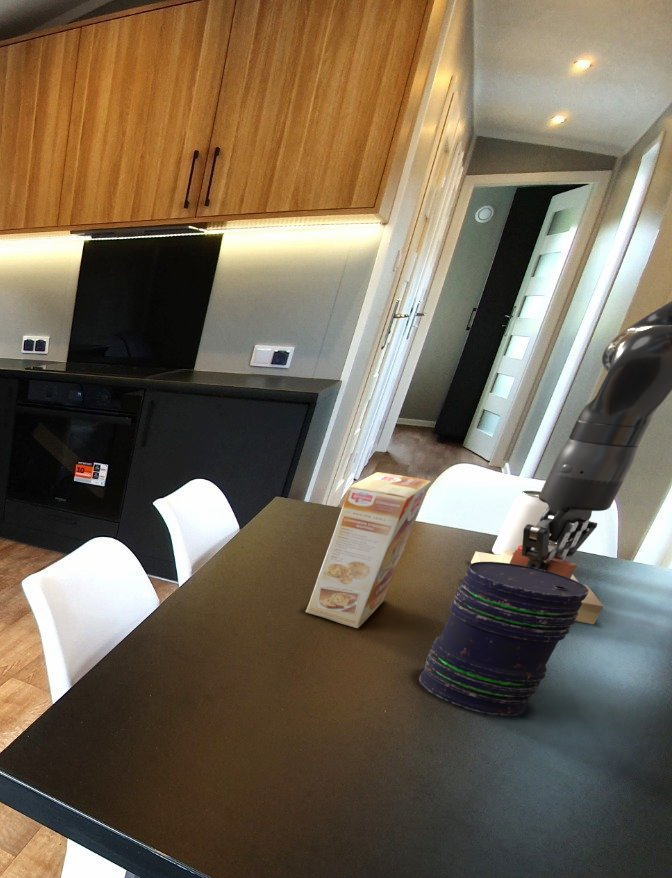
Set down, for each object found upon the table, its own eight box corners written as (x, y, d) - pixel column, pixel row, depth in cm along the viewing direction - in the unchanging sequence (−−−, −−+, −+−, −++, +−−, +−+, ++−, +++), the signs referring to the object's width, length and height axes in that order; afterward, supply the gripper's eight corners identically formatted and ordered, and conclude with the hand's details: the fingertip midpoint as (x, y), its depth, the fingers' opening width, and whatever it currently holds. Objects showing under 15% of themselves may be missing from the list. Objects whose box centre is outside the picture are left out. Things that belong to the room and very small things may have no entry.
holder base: (577, 600, 101) (586, 582, 100) (594, 626, 93) (605, 606, 91) (463, 579, 108) (470, 562, 107) (470, 601, 100) (478, 583, 99)
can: (488, 548, 124) (515, 488, 118) (533, 555, 120) (563, 493, 115) (493, 557, 119) (522, 495, 114) (540, 565, 115) (572, 501, 110)
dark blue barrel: (399, 679, 78) (448, 567, 72) (446, 664, 82) (496, 556, 75) (497, 724, 70) (562, 602, 63) (544, 705, 73) (610, 588, 67)
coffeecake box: (358, 629, 90) (410, 496, 82) (303, 612, 95) (346, 485, 87) (385, 601, 99) (434, 479, 91) (333, 587, 104) (375, 470, 96)
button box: (561, 578, 110) (572, 556, 108) (572, 595, 103) (584, 572, 101) (470, 562, 116) (479, 542, 114) (476, 577, 110) (486, 555, 108)
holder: (563, 591, 97) (578, 562, 95) (557, 592, 96) (572, 563, 94) (509, 574, 103) (522, 547, 101) (503, 575, 102) (516, 548, 100)
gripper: (591, 482, 87) (534, 597, 94) (650, 476, 91) (591, 587, 98) (526, 470, 93) (477, 578, 100) (583, 465, 97) (532, 570, 104)
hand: (533, 582), depth 99 cm, fingers closed on holder, 2 cm apart
